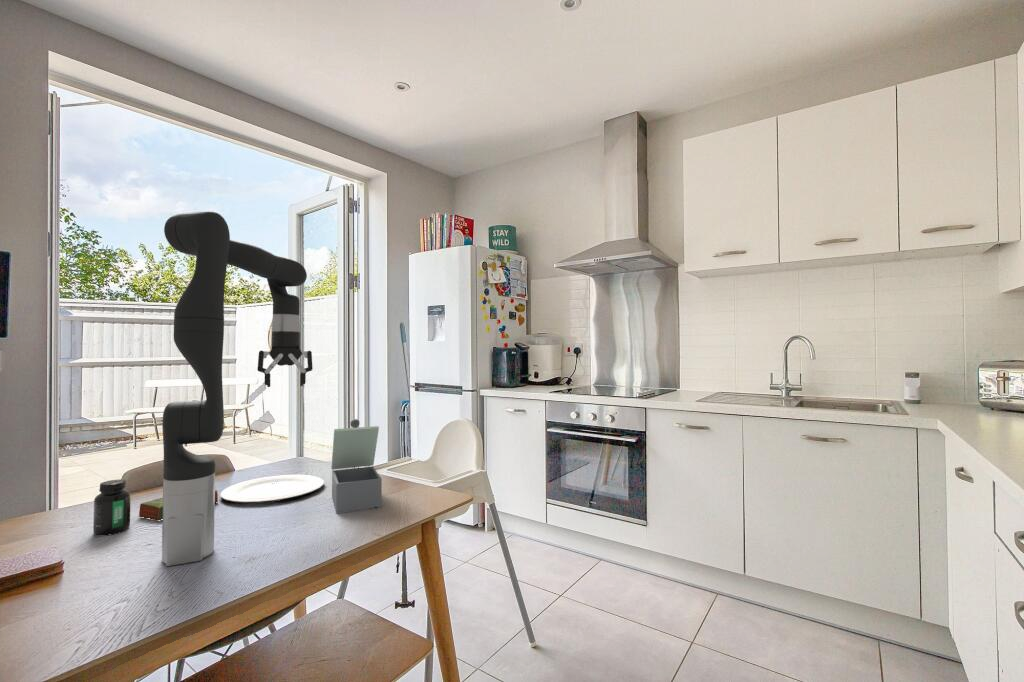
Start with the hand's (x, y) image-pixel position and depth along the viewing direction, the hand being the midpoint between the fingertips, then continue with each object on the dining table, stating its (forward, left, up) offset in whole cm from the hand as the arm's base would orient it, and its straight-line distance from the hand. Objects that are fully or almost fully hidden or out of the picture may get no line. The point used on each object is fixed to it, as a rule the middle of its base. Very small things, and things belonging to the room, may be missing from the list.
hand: (285, 386), depth 133 cm
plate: (+16, +3, -35) cm, 38 cm away
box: (-6, -19, -34) cm, 39 cm away
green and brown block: (+8, +26, -35) cm, 44 cm away
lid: (-3, -19, -19) cm, 27 cm away
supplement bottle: (-3, +38, -34) cm, 51 cm away
